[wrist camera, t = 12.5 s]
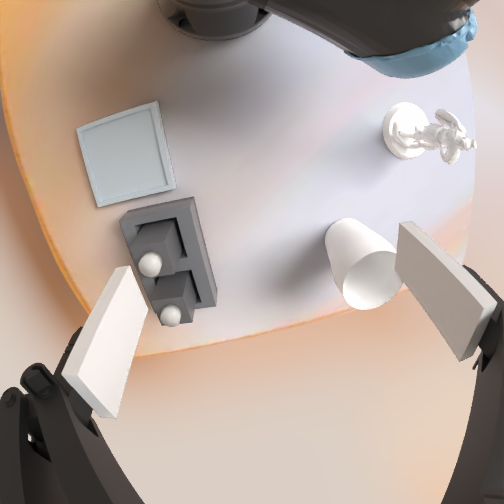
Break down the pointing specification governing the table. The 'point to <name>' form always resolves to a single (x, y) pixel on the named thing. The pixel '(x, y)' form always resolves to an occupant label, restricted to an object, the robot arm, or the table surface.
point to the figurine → (423, 133)
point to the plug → (175, 298)
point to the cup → (362, 264)
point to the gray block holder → (170, 246)
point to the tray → (127, 155)
